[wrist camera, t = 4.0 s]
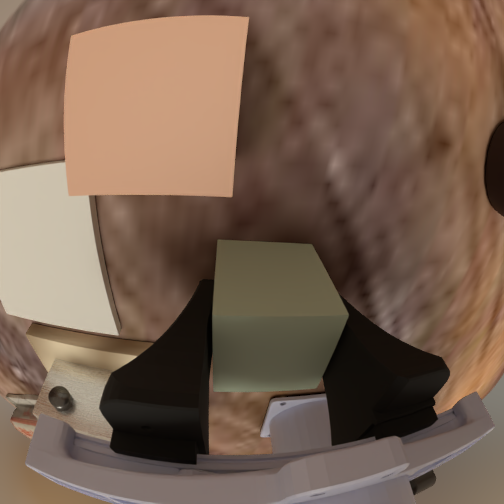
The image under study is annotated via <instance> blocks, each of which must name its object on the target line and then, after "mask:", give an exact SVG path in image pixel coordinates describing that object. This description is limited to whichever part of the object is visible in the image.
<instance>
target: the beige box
mask: <svg viewBox="0 0 504 504" xmlns="http://www.w3.org/2000/svg"><path fill="white" fill-rule="evenodd" d="M26 336H27V338H28V340H29V341H30V343H31V345H32V347H33V348H34V350H35V352H36V353H37V355H38V357H39V358H40V360H41V362H42V363H43V365H44V366H45V368H46V369H47V371H48V373H49V371H50V368H51V366H52V364H53V362H54V360H55V358H57V359H61V360H65V361H69V362H73V363H77V364H82V365H87V366H92V367H97V368H102V369H107V370H113V371H115V370H117V369H119V368H120V367H122V366H124V365H125V364H127V363H129V362H130V361H132V360H133V359H135V358H136V357H137V356H139V355H140V354H141V353H142V352H144V351H145V350H146V349H148V348H149V347H150V346H151V345H152V344H153V343H150V342H141V341H132V340H124V339H116V338H109V337H102V336H96V335H90V334H84V333H78V332H73V331H67V330H62V329H57V328H52V327H48V326H43V325H39V324H35V323H32V324H31V326H30V327H29V329H28V331H27V332H26Z"/></svg>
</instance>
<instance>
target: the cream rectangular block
mask: <svg viewBox="0 0 504 504" xmlns="http://www.w3.org/2000/svg"><path fill="white" fill-rule="evenodd" d="M112 372H114V371H113V370H107V369H102V368H97V367H92V366H87V365H82V364H77V363H73V362H69V361H65V360H61V359H57V358H55V360H54V362H53V364H52V366H51V368H50V371H49V373H48V375H47V377H46V380H45V382H44V384H43V387H42V389H41V391H40V394H39V396H38V399H37V402H36V404H35V407H34V409H33V412H32V414H33V415H34V416H35V417H36V418H37V419H38V418H39V415H40V414H45V415H48V416H50V417H53V418H56V419H59V420H61V421H64V422H66V423H67V424H69V425H70V426H71V427H72V428H73V429H74V430H75V432H78V433H81V434H84V435H88V436H91V437H95V438H99V439H103V440H107V441H111V437H112V432H113V428H112V427H111V426H110V424H109V423H108V422H107V420H106V419H105V418H104V416H103V415H102V413H101V411H100V409H99V404H100V401H101V397H102V394H103V390H104V387H105V385H106V383H107V381H108V379H109V377H110V375H111V373H112Z"/></svg>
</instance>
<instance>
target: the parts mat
mask: <svg viewBox="0 0 504 504" xmlns="http://www.w3.org/2000/svg"><path fill="white" fill-rule="evenodd" d="M0 300H1V302H2V304H3V306H4V308H5V310H6V312H7V314H10V315H14V316H18V317H22V318H26V319H30V320H34V321H39V322H43V323H48V324H53V325H58V326H63V327H68V328H74V329H79V330H85V331H91V332H98V333H104V334H112V335H119V334H120V331H121V325H120V322H119V319H118V315H117V311H116V308H115V304H114V300H113V296H112V292H111V288H110V284H109V279H108V275H107V270H106V265H105V260H104V255H103V250H102V244H101V238H100V232H99V225H98V218H97V210H96V202H95V195H85V196H69V194H68V186H67V176H66V164H65V160H62V161H54V162H46V163H39V164H33V165H27V166H21V167H15V168H10V169H4V170H0Z"/></svg>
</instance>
